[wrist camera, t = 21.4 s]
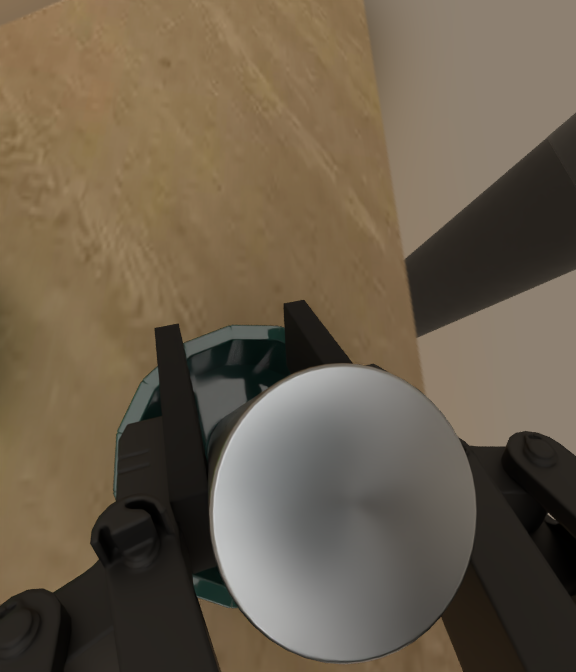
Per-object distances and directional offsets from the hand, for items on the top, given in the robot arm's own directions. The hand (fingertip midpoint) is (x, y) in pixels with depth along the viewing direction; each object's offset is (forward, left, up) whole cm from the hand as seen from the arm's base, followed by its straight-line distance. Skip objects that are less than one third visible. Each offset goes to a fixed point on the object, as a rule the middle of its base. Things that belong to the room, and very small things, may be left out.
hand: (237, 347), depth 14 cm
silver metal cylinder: (+1, +4, -3) cm, 5 cm away
